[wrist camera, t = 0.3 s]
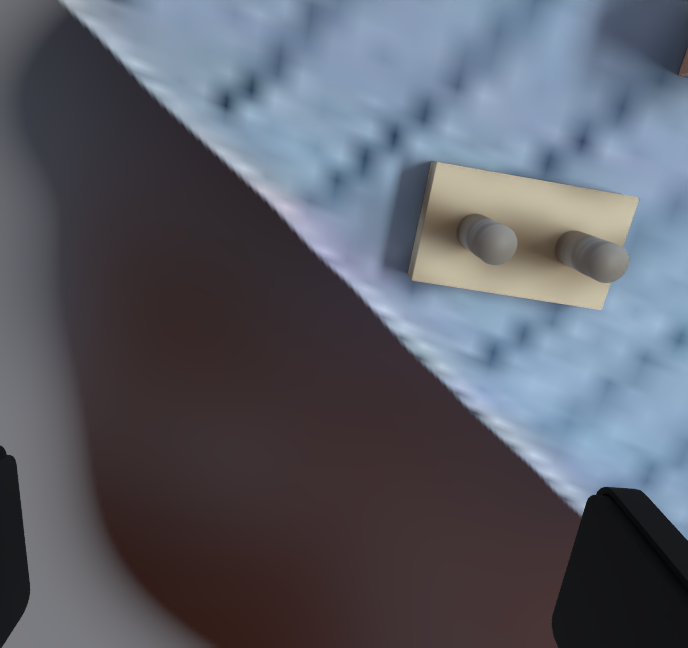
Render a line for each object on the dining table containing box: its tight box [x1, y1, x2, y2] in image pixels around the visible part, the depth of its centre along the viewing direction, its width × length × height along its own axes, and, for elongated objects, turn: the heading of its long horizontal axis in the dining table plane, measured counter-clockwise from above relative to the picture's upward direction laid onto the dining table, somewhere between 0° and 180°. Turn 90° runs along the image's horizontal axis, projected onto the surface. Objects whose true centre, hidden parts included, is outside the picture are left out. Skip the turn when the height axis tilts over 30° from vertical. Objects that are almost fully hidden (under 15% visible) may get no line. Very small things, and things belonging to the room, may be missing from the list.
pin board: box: [408, 161, 639, 310], centre depth 35 cm, size 8×14×7 cm, turn 80°
